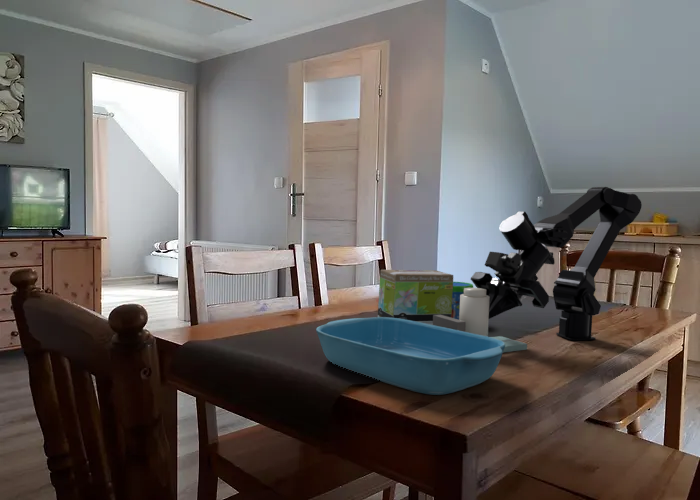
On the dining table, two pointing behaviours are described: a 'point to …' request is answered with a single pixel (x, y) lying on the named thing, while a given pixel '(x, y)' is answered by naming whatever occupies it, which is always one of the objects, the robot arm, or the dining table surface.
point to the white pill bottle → (475, 310)
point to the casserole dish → (411, 353)
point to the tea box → (415, 294)
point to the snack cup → (458, 297)
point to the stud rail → (512, 344)
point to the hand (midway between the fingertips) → (485, 317)
